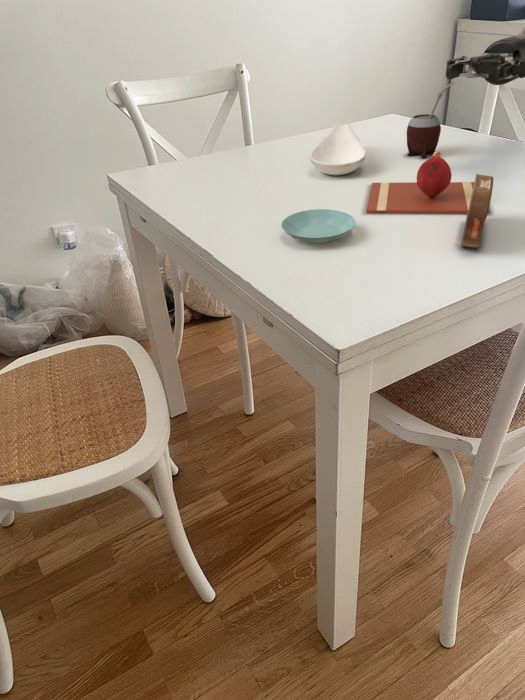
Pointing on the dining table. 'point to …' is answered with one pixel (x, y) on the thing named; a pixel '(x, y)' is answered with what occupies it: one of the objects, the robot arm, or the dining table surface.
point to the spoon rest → (338, 151)
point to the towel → (419, 199)
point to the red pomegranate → (434, 176)
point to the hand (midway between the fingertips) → (472, 73)
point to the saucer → (318, 225)
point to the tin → (477, 211)
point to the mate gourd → (424, 132)
